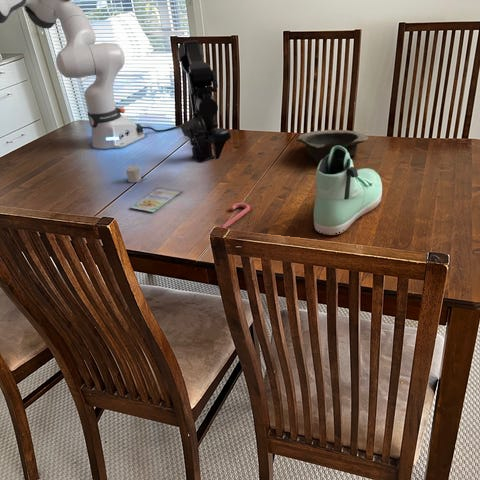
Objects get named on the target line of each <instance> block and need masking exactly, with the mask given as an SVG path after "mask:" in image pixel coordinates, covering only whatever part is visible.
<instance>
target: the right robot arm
mask: <svg viewBox="0 0 480 480" xmlns="http://www.w3.org/2000/svg"><path fill="white" fill-rule="evenodd" d="M203 49H204V48H203V45H202V44H201V43H200V42H199V40H197V39H195V40H186V41H183V43H182V44H181V45H180V46H178V47H177V60H178V62H179V63H180V67H181V68H182V70H183V71H184V73H185V74H186V76H187V77H186V78H187V84H188V92H189V98H190V105H191V110H192V112H191V113H192V118H190V119H189V120H187V121H185V122H184V124H183V123H182V124H183V125H182V126H181V127H179V128H180V129H181V131H182V133H183V135H184V137H187V138H188V139H189V144H190V146H192V147H191V152H192V155H191V158H192V159H194V160H196V161H198V162H200V163H203V162H205V161H209V160H211V159H214V158H215V160H218V159H220V157H221V154H222V151H223V149H224V147H225V145H226V143H227V142H228V141H229V140H230V139H231V138H232V137H231V136H232V135H231V131H229V130H228V129H226V128H223V127H219V124H218V123H216V120H215V116H216V115H217V114H218V111H219V106H218V103H217V101H216V100H215V98H214V97H213V93H217V92H218V90H217V88H219V87H218V86H219V84H218V81H217V80H218V79H217V75H216V72H214V70H213V69H212V68H211V66H210V63H208V62H205V61H204V56H205V55H204V50H203ZM218 127H219V128H218ZM212 148H213V149H212Z"/></svg>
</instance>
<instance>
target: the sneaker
mask: <svg viewBox="0 0 480 480" xmlns="http://www.w3.org/2000/svg"><path fill="white" fill-rule="evenodd" d="M317 165H318V166H317V168H316V172H315V201H314V207H313V225H314V229H315V231H316V232H318V233H320V234H323V235H326V236H327V235H328V236H336V235H339V234H342V233H344V232H345V231H347V230H348V229H349V228H350V227H351V226H352V225H353V224H354V222H356V221H357V220H358V219H359V218H360V217H362V216H363V215H365V214H367V213H370V212H372V210H374V209H375V208H377V207H378V205H380V203H381V200H382V196H383V184H382V183H383V182H382V179H381V176H380V175H379V173H378V172H377V171H376V170H374V169H372V168H367V167H365V168H358V169H357V168H355V167H354V161H353V158H350V156H349V153H348V152H347V150H346V149H345V148H344V147H342V146H334V147H333V148H332V149H331V152H330V154H329V155H327V156H326V157H325V158H324V159H322V160H321V161H320V163H319V164H317ZM343 230H344V231H343ZM319 231H320V232H319ZM322 232H323V233H322ZM339 232H340V233H339ZM326 233H327V234H326ZM328 233H329V234H328ZM335 233H337V234H335Z"/></svg>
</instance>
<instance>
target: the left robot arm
mask: <svg viewBox="0 0 480 480" xmlns="http://www.w3.org/2000/svg"><path fill="white" fill-rule="evenodd" d="M22 8H23V9H24V12H25V13H26V14H27V16H28V18H29V19H30V21H31V22H32V23H33V24H34V25H35V26H37V27H39V28H41V29H45V30H47V29H51V28H53V26H54V25H55V24H56V23H57V20H59V22H60V26H61V29H62V32H63V34H64V37H65V40H66V45H64V47H63V48H62V49H60V50H59V51H58V53H57V55H56V59H55V65H56V68H57V71H58V72H59V73H60V74H61V75H62V76H63V77H64V78H69V79H80V78H87V77H94V76H95V80H94V81H93V82H92V83H91V84H90V85H89V86H88V87H87V88H86V89H85V90H84V93H83V95H84V100H85V104H86V109H87V118H88V122H89V125H90V127H91V128H90V129H91V137H92V138H91V140H92V141H91V147H92V148H94V149H98V150H107V149H121V148H122V149H123V148H124V147H127V146H128V145H131V144H132V143H135V142H137V141H139V140H141V139H143V138H145V137H146V135H145V133H144V130H145V129H146V130H147V129H148V130H152V131H153V132H156V133H163V132H169V131H171V130H175V129H178V128H180V127H181V126H182V125H183V124H184V123H185V122H184V123H181V124H179V125H176V126H173V127H169V128H166V129H156V128H153V127H151V126H142V124H140V123H135V122H134V121H133V120H131V119H129V118H127V117H125V116H123V115H122V114H125V112H126V109H125V108H124V107H123V108H122V107H117V106H116V103H115V96H114V84H115V80H116V78H117V75H118V73H119V72H120V71H121V70H122V69H123V67H124V65H125V58H126V57H125V53H124V51H123V49H122V48H121V47H120V45H118V44H117V43H112V42H100V43H96V39H97V38H96V34H95V31H94V29H93V27H92V25H91V22H90V20H89V19H88V16H87V15H86V13H85V12H84V10H83V9H82V8H81V7H80V6H79V5H77V4H75V3H73V1H72V0H0V24H3V23H5V22H7V20H8V19H9V17H10V16H11V14H12V13H13V12H14V11H17V10H20V9H22ZM2 62H3V56H2V54H1V53H0V64H2Z"/></svg>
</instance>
